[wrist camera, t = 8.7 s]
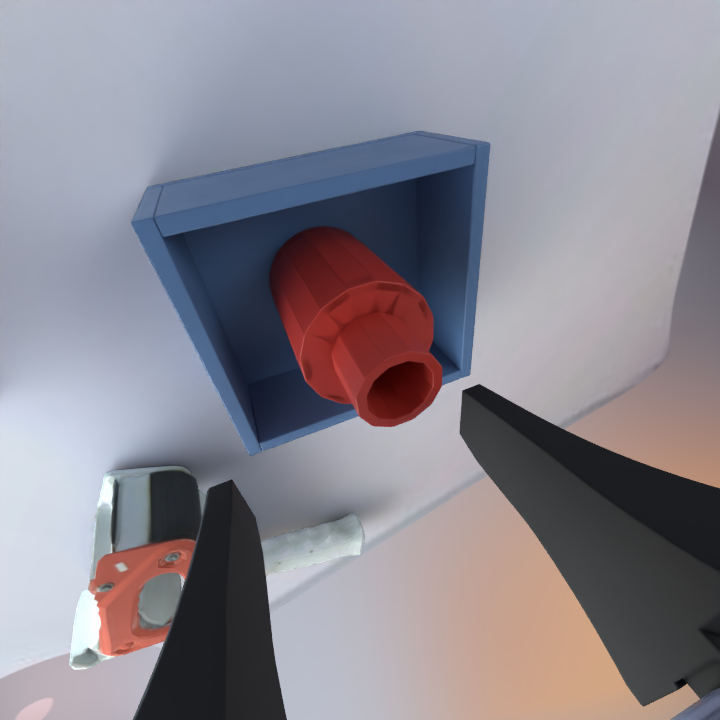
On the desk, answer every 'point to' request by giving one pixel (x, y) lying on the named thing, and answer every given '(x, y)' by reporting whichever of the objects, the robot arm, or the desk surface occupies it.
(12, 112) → the desk surface
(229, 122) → the desk surface
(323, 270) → the bottle
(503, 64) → the desk surface
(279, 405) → the tub
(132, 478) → the tape dispenser
